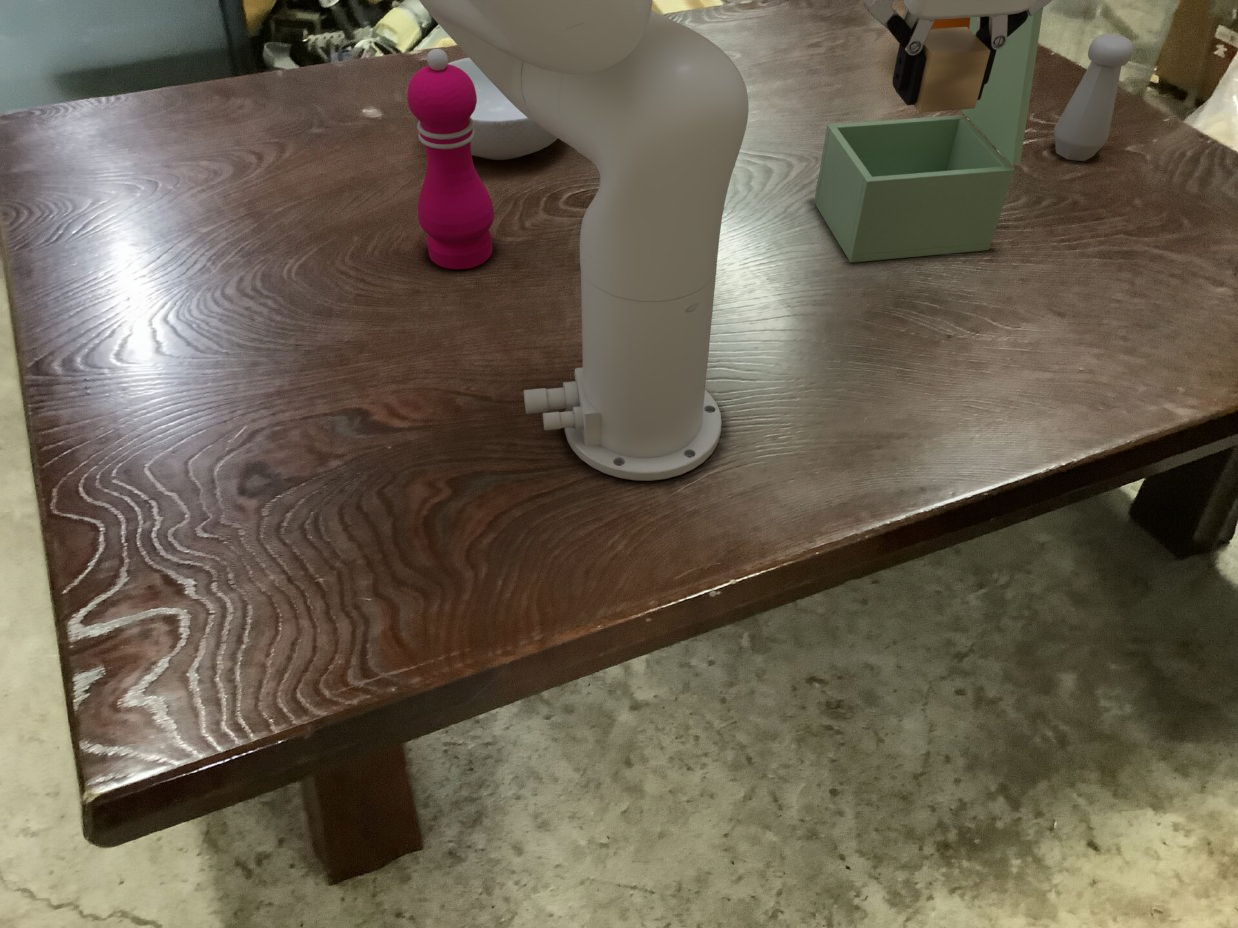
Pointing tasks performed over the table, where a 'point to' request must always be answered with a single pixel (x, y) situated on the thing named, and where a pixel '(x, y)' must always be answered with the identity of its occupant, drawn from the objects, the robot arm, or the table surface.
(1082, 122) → the salt shaker
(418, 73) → the pepper mill
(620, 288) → the robot arm
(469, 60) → the cereal bowl
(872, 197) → the chest
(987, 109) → the lid
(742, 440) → the table surface
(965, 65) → the block
